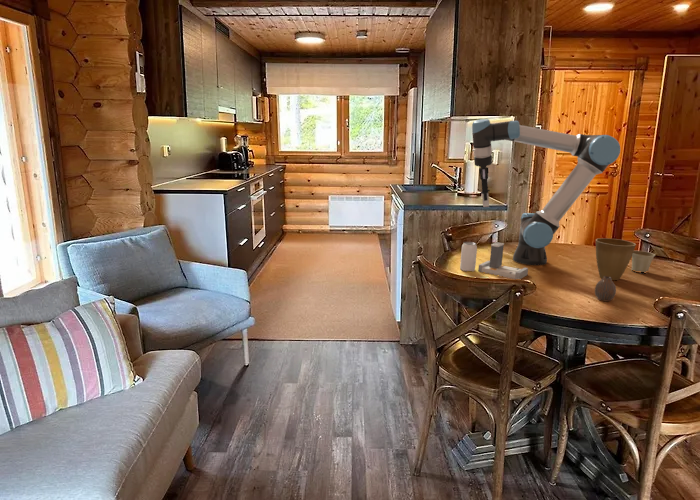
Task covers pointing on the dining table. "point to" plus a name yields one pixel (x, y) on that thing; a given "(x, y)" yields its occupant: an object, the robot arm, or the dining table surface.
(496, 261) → the fader tab
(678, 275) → the dining table surface
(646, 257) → the flower pot
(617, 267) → the plant pot
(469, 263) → the can
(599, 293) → the vase
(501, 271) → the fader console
